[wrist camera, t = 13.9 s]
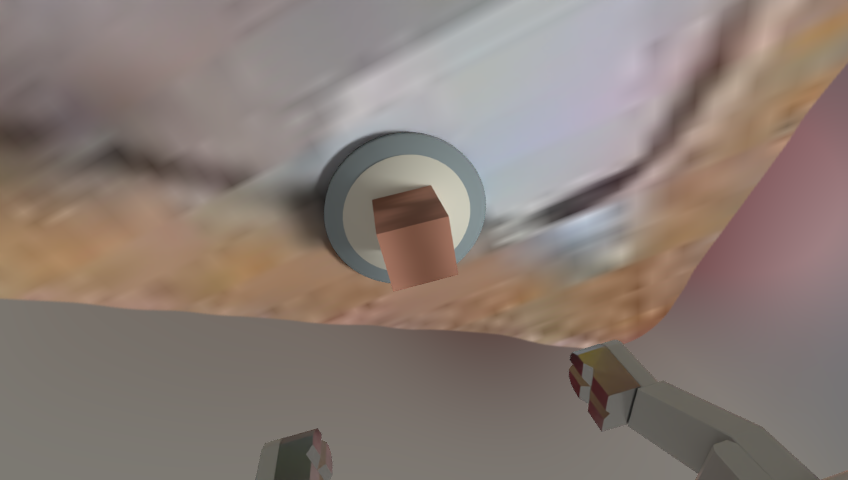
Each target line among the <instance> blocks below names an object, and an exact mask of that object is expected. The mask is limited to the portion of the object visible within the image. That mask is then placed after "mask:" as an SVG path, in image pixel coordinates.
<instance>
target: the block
mask: <svg viewBox="0 0 848 480" xmlns="http://www.w3.org/2000/svg"><path fill="white" fill-rule="evenodd" d="M372 205H373V213H374V220H375V228H376V235H377V239H378V242H379V245H380V249H381V252H382V255H383V259H384V262H385V265H386V269H387V272H388V275H389V279H390V282H391V285H392V289H393V292H394V291H398V290H402V289H406V288H409V287H413V286H417V285H421V284H424V283H428V282H432V281H436V280H440V279H443V278H447V277H451V276H455V275H458V270H457V264H456V257H455V251H454V245H453V239H452V233H451V227H450V221H449V216H448V214H447V212H446V211H445V209H444V207H443V205H442V204H441V202H440V200H439V198H438V197H437V195H436V193H435V191H434V190H433V188H432V186H431V185H430V186H426V187H422V188H418V189H414V190H410V191H406V192H402V193H398V194H394V195H389V196H385V197H381V198H377V199H373V200H372Z"/></svg>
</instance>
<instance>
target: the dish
mask: <svg viewBox="0 0 848 480" xmlns="http://www.w3.org/2000/svg"><path fill="white" fill-rule="evenodd" d="M430 185H431V186H432V188H433V190H434V191H435V193H436V195H437V197H438V198H439V200H440V202H441V204H442V205H443V207H444V209H445V211H446V212H447V214H448V216H449V221H450V227H451V233H452V239H453V245H454V251H455V257H456V264H457V263H458V262H459V261H460V260H461V259H462V258H463V257H464V256H465V255H466V254H467V253H468V252H469V251H470V249H471V248H472V246H473V245H474V244H475V242H476V240H477V238H478V236H479V234H480V232H481V229H482V227H483V223H484V219H485V212H486V197H485V191H484V187H483V184H482V181H481V179H480V177H479V175H478V172H477V171H476V169H475V168H474V166H473V165H472V163H471V162H470V161H469V160H468V159H467V158H466V157H465V156H464V155H463V154H462V153H461V152H460V151H459V150H458V149H456V148H455V147H454V146H452V145H451V144H449V143H447V142H446V141H444V140H442V139H439V138H437V137H434V136H431V135H427V134H423V133H414V132H399V133H393V134H388V135H384V136H381V137H378V138H375V139H373V140H371V141H369V142H367V143H365V144H363V145H362V146H360V147H359V148H357V149H356V150H355V151H353V152H352V153H351V154H350V155H349V156H348V157H347V158H346V159H345V160H344V161H343V162H342V163H341V164H340V166H339V167H338V169H337V170H336V172H335V173H334V175H333V177H332V179H331V182H330V184H329V187H328V190H327V194H326V199H325V206H324V222H325V228H326V232H327V235H328V238H329V240H330V242H331V244H332V247H333V248H334V250H335V251H336V253H337V254H338V255H339V257H340V258H341V259H342V260H343V261H344V262H345V263H346V264H347V265H348V266H350V267H351V268H352V269H354V270H355V271H357V272H358V273H360V274H362V275H364V276H366V277H368V278H371V279H374V280H377V281H381V282H385V283H391V282H390V279H389V275H388V272H387V269H386V265H385V262H384V259H383V255H382V252H381V249H380V245H379V242H378V239H377V235H376V228H375V220H374V213H373V205H372V200H373V199H377V198H381V197H385V196H389V195H394V194H398V193H402V192H406V191H410V190H414V189H418V188H422V187H426V186H430Z"/></svg>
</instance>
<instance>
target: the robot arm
mask: <svg viewBox="0 0 848 480" xmlns="http://www.w3.org/2000/svg"><path fill="white" fill-rule="evenodd" d="M570 361H571V363H572V364H573V365H572V366H571V367H570V369H569V379H570V382H571V385H572V387H573V389H574V391H575V393H576V394H577V396H578V397H579V398H580V399H581V400H583V401H585V402H586V403H588V412H589V414H590V415H591V417H592V418H593V420H594V421H595V423H596V424H597V426H598V427H599V428H600V430H601V432H603V431H606V430H610V429H613V428H617V427H620V426H623V425H627V424H628V426H629V427H630V428H631V429H633V430H634V431H636V432H637V433H639V434H641V435H642V436H643V437H645V438H646V439H648V440H649V441H651V442H652V443H654V444H655V445H657V446H658V447H659V448H661V449H663V450H664V451H665V452H667V453H668V454H670V455H671V456H673V457H674V458H676V459H677V460H679V461H680V462H682V463H683V464H685V465H686V466H687V467H689V468H691V469H692V470H693V471H695V472H696V473H698V475H697V477H696V479H695V480H820V479H819V478H818V477H817V476H816V475H815V474H813V473H812V472H811V471H810V470H809V469H808V468H807V467H806V466H805V465H803V464H802V463H801V462H800V461H799V460H798V459H797V458H796V457H795V456H794V455H792V453H790V452H789V451H788V450H787V449H786V448H785V447H784V446H783V445H782V444H780V443H779V442H778V441H777V440H776V439H775V438H774V437H773V436H772V435H771V434H770V433H769V432H767V431H766V430H765V429H764V428H763V427H761V426H759V425H757V424H755V423H753V422H751V421H749V420H746V419H744V418H742V417H740V416H738V415H736V414H733V413H731V412H729V411H727V410H725V409H723V408H721V407H718V406H716V405H714V404H712V403H710V402H708V401H706V400H704V399H701V398H699V397H697V396H695V395H693V394H691V393H689V392H687V391H684V390H682V389H680V388H678V387H676V386H674V385H671V384H669V383H667V382H665V381H659V382H658V381H657V380H656V379H655V378H654V376H653V375H652V374H651V373H650V372H649V371H648V370H647V369H646V368H645V367H644V366H643V365H642V364H641V363H640V362H639V361H638V360H637V359H636V358H635V356H634V355H633V354H632V353H631V352H630V351H629V350H628V349H627V348H626V347H625V346H624V345H623V344H622V343H621V342H620V341H618V340H612V341H609V342H605V343H602V344H597V345H594V346H591V347H588V348H585V349H582V350H579V351H575V352H573V353H571V355H570ZM321 438H322V434H321V432H320V431H319V429H318V428H316V429H313V430H310V431H306V432H303V433H299V434H296V435H292V436H289V437H285V438H281V439H277V440H274V441H271V442H268V443H265V444H264V446H263V449H262V451H261V455H260V461H259V465H258V470H257V475H256V479H255V480H330V478H331V476H332V456H331V451H330V448H329V445H328V444H327V442H325V441H323V440H321ZM821 480H848V470H846V471H843V472H841V473H838V474H835V475H832V476H829V477H827V478H824V479H821Z"/></svg>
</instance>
